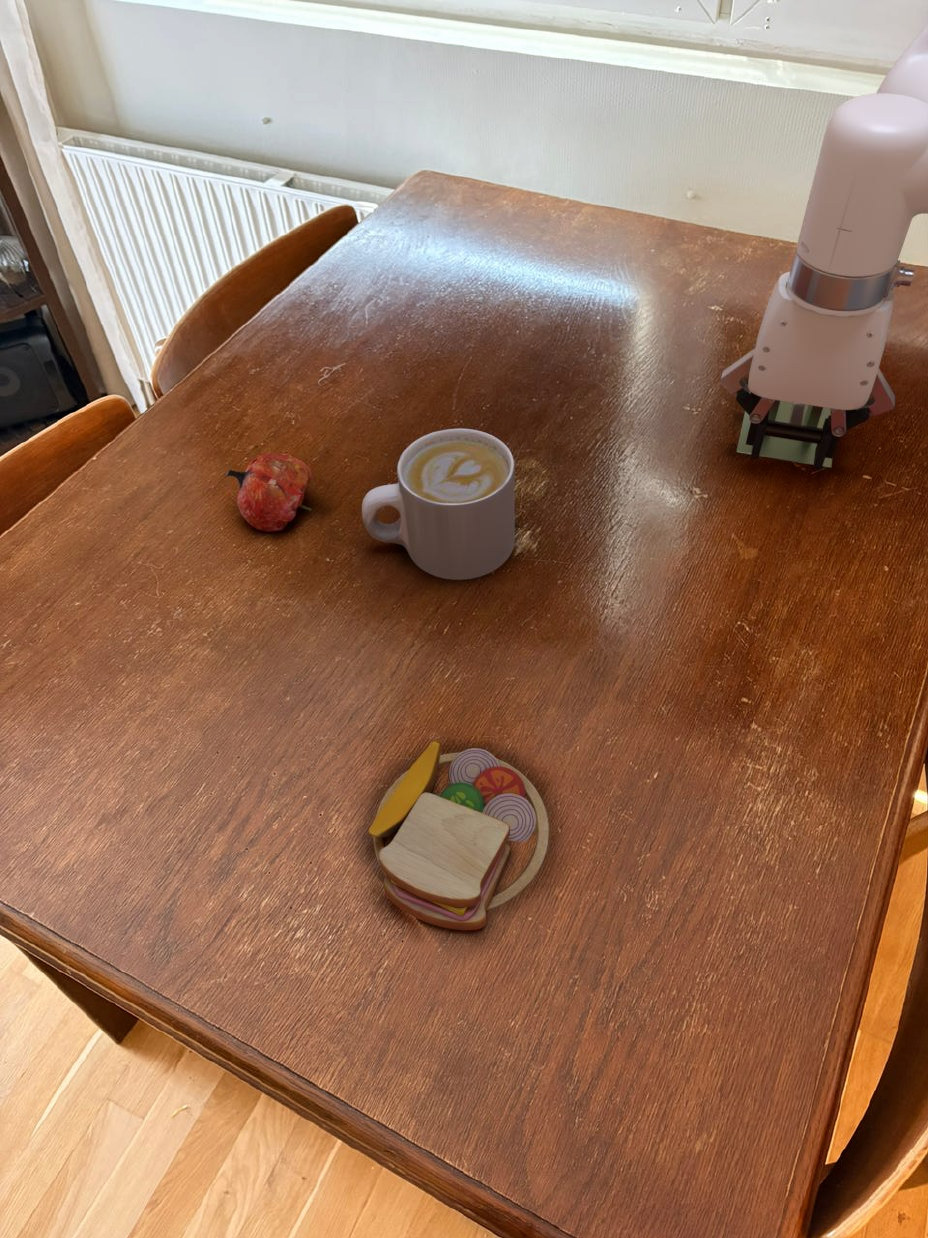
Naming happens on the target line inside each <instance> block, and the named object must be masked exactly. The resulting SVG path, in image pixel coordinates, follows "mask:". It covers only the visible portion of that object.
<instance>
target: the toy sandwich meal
mask: <svg viewBox="0 0 928 1238" xmlns="http://www.w3.org/2000/svg"><path fill="white" fill-rule="evenodd" d="M441 748H442V747H441V744H440V743H439V742H437V741H434V740H433V741H432V742H430V743H429V745H428V746H427V747H426V748H425V750H423V752H422V753H421V755H420V756H419V757H418V758H417V759H416V760H415V761H414V762H413V763H412V765H411V766H410V768H409V769H408V770H406V771H405V772H404V773H403V774H401V775H400V776H399V777H398V778H397V779H396V780H395V781H394V782H393V784H392V785H390V787H389V788H388V789H387V791H386V792H385V794H384V796H383V797H382V799H381V801H380V803H379V805H378V808H377V811H376V813H375V818H374V819H373V821H372V823H371V825H370V827H369V828H368V834H369V835H370V836H372V837H373V838H372V839H373V841H372V842H373V849H374V853H375V857H376V860H377V863H378V864H379V867H380V869H381V872H382V873H383V875H384V878H383V881H382V883H383V891H384V893H385V896H386V898H388V899H389V900H390V901H391V903H392V904H394V905H395V906H396V907H397V908H399V909H400V910H402V911H403V912H404V913H406V914H408V915H409V916H412V918H414V919H415V918H416V919H418V920H420V921H423V922H425V923H428V924H430V925H434V926H437V927H440V928H444V929H451V930H457V931H458V930H459V931H477V930H481V929H483V928H484V927H485V926H486V925H487V911H489V910H492V909H495V908H497V907H499V906H501V905H504V904H505V903H507V902H509V901H510V900H511V899H514V898H515V897H516V896H517V895H519V894H520V893H521V892H522V891H524V890H525V888H526V887H527V886H528V885H529V884H530V883H531V882H532V881H533V879H535V877H536V875H537V874H538V873H539V870H540V868H541V867H542V864H543V862H544V860H545V857H546V854H547V851H548V846H549V839H550V823H549V818H548V813H547V810H546V806H545V803H544V801H543V799H542V797H541V795H540V794H539V792H538V790H537V789H536V787H535V786H534V784H532V782H531V781H530V780H529V779H528V778H527V777H526V775H524V774H523V773H522V772H521V771H519V770H518V769H517V768H515V767H514V766H512V765H510V764H509V763H507V762H505V761H503V760H501V759H498V758H496V757H495V756H494V755H493V754H492V753H491V752H490V751H488V750H486V749H482V748H477V747H471V748H468V749H465V750H463V751H460V752H451V753H450V752H449V753H444V754H441ZM447 764H450V765H449V768H448V780H449V784H450V785H448V786H447V787H445V788H444V789H443V790H442V792H440V794H439V795H437V794H434V793H433V791H434V789H435V787H436V783H437V778H438V772H439V766H443V765H447ZM526 797H527V799H526ZM535 831H537V832H536V842H535V847H534V851H533V853H532V856H531V858H530V860H529V862H528V864H527V866H526V867H525V869H524V870H523V872H522V873H521V874H520V875H519V877H518V878H516V879H515V881H513V882H512V883H511V884H510V885H508V886H507V887H506V888H504V889H502V890H501V891H499V892H497V890H498V887H499V884H500V883H501V880H502V878H503V875H504V874H505V873H504V872H505V870H506V868H507V866H508V863H509V860H510V858H511V854H512V847H511V846H510V845H509V844H508V843H507V842H508V841H511V842H517V843H525V842H527V841H528V840H529V839H530V838H531V837H532V836H533V835H534V833H535ZM396 832H397V833H396ZM395 833H396V834H395ZM394 834H395V835H394ZM392 835H394V837H393V839H392V840H391V841H390V843H388V844H387V845H386V840H385V838H389V837H391V836H392ZM496 892H497V893H496Z"/></svg>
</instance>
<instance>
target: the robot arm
mask: <svg viewBox="0 0 928 1238" xmlns="http://www.w3.org/2000/svg"><path fill="white" fill-rule="evenodd" d="M922 214H924V215H925V214H927V215H928V23H927V24H926V25H925V26H924V27H923V29H922V30H921V31H920V32H919V33H918V35H916V37H915V38H914V39H913V41H911V43H910V44H909V45H908V46H907V48H905V50H904V51H903V52H902V54H901V55H900V56H899V58H898V59H897V60H896V61H895V63H894V64H893V66H892V67H891V69H890V70H889V71H888V73H887V74H886V76H885V77H884V78H883V80H882V82H881V83H880V85H879V87H878V89H876V92H875V93H867V94H861V95H858V96H854V97H852V98H849V99H848V100H846V101H844V102H843V103H841V104H840V105H839V106H838V107H837V108H836V109H835V110H834V111H833V113H832V114H831V116H830V118H829V120H828V123H827V125H826V129H825V132H824V135H823V139H822V143H821V147H820V152H819V154H818V159H817V164H816V167H815V171H814V175H813V180H812V183H811V187H810V191H809V195H808V199H807V203H806V207H805V211H804V216H803V220H802V224H801V228H800V232H799V236H798V239H797V244H796V246H795V251H794V254H793V259H792V263H791V267H790V271H787V272H785V273H782V274H781V275H780V276H779V278H778V280H777V282H776V283H775V286H774V288H773V289H772V292H771V295H770V297H769V300H768V301H767V304H766V308H765V310H764V314H763V317H762V320H761V324H760V326H759V331H758V334H757V337H756V341H755V343H754V348H752V349H751V350H750V351H748V352H747V353H746V354H744V355H743V356H742V357H740V358H739V359H738V360H736V361H735V362H733V363H732V364H731V365H729V366H728V367H727V368H725V369H724V370H723V371H722V373H721V375H720V380H719V383H720V385H721V386H722V387H723V388H724V389H725V390H726V391H727V392H728V393H729V394H730V395H731V396H734V397H735V400H736V402H737V403H738V404H739V406H740V407H741V408H742V409H743V410H744V412H745V411H746V412H747V414H748V415H749V420H750V422H751V423H750V427H749V431H748V435H747V440H746V445H752V446H753V447H752V452H751V455H750V457H749V459H750V460H757V459H759V458H760V456H759V454H760V450H761V446H762V443H763V439H764V435H765V431H766V427H767V422H768V417H769V411H770V408H771V407H772V405H773V404H774V403H775V401H776V400H779V401H786V402H792V403H799V404H805V405H812V406H819V407H826V408H830V413H831V415H829V416H828V418H826V419H825V421H824V425H823V429H824V431H823V436H822V440H821V443H820V444H817V446H816V450H815V457H814V465H812V467H813V469H814V470H815V471H822V468H823V467H822V466H823V463H824V460H825V458H831V459H832V460H833V457H834V455H835V453H836V449H837V447H838V443H839V440H840V438H841V437H843V436H845V435H846V433H847V431H848V430H851V429H852V428H855V427H857V426H859V425H861V424H863V423H865V422H867V421H868V420H869V419H870V418H873V417H877V416H879V415H882V414H884V413H888V412H890V411H892V410H894V408H895V406H896V395H895V394H894V392H893V390H892V388H891V386H890V384H889V383H888V381H887V379H886V377H885V375H884V374H883V372H882V371H881V369H880V365H881V361H882V358H883V354H884V351H885V347H886V344H887V343H886V342H887V337H888V332H889V328H890V323H891V318H892V315H893V311H894V310H893V309H894V301H895V290H894V287H896V288H900V286H902V287H903V286H905V287H910V286H911V285H912V282H913V279H914V277H915V272H916V269H915V267H906V265H905V264H901V259H899V258H900V256H901V253H902V249H903V246H904V243H905V241H906V238H907V235H908V232H909V229H910V226H911V224H912V221H913V218H915V217H917V216H918V215H922ZM747 376H748V379H747V380H748V382H746V381H745V378H746V377H747ZM870 396H871V397H870Z"/></svg>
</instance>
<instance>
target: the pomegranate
mask: <svg viewBox="0 0 928 1238" xmlns="http://www.w3.org/2000/svg"><path fill="white" fill-rule="evenodd" d="M227 477H234V478H236V480H237V482H238V486H239V487H238V492H237V496H236V506H237V508H238V510H239V512H240V514H241V516H242V517H243V519H244V520H245V521H246V522H247V524H249V525H250V526H252V527H253V528H254V529H256V530H258V531H262V532H266V533H271V532H280V531H282V530H284V529H285V527H287V526H288V523H290V522H292V521H293V520H294V519H295V517H296V514H297V511H298V508H300V509H302V510H304V511H308V512H309V511H310V512H311V511H312V508H310V507H307V506H306V505H304V504H303V502H304V499H305V493H306V490H307V488H308V486H309V484H310V482H311V481H312V479H313V473H312V471H311V468H310V467H309V466H308V465H307V464H306V463H305V462H303V461H302V460H300V459H299V458H296V457H295V456H292V455H290V454H287V453H266V454H262V455H259V456H256V457H255V458H254V459H253V460H251V461H250V462H249V464H248V465H247V467H246V470H245V471H238V470H237V471H236V470H232V469H231V468H229V470H228V471H227V473H226V475H225V476H224V478H227Z"/></svg>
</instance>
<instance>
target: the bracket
mask: <svg viewBox="0 0 928 1238" xmlns="http://www.w3.org/2000/svg"><path fill="white" fill-rule="evenodd" d="M792 405H793V403H792V402H786V401H779V400H776V401H775V403H774V404H773V405H772V407H771V408H770V411H769V417H768V420H773V421H779V422H786V423H789V419H790V414H791V409H792ZM829 415H831V413H830V408H826V407H819V406H812V405H806V407H805V411H804V416H803V421H802V425H805V426H811V427H817V428H823V425H824V421H825V419H826V418H828V416H829ZM750 423H751V422H750V420H749V415H748V414H747V412H746V411H745V410H744V413H743V418H742V423H741V428H740V432H739V437H738V441H737V442H738V443H737V447H736V450H735V452H736V453H738V454H744V455H750V456H751V452H752V447H753V446H752V445H746V440H747V435H748V431H749V427H750ZM816 446H817V444H814V443H808V442H802V441H796V440H789V439H783V438H777V437H771V436H765V435H764V439H763V443H762V446H761V450H760V454H759V457H760V458H761V457H763V458H768V459H774V460H779V461H784V462H785V461H786V462H791V463H798V464H804V465H809V466H813V465H814V457H815V450H816ZM832 465H833V458H832V459H831V458H825V460H824V463H823V466H822V468H828V469H832V467H833V466H832Z"/></svg>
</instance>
